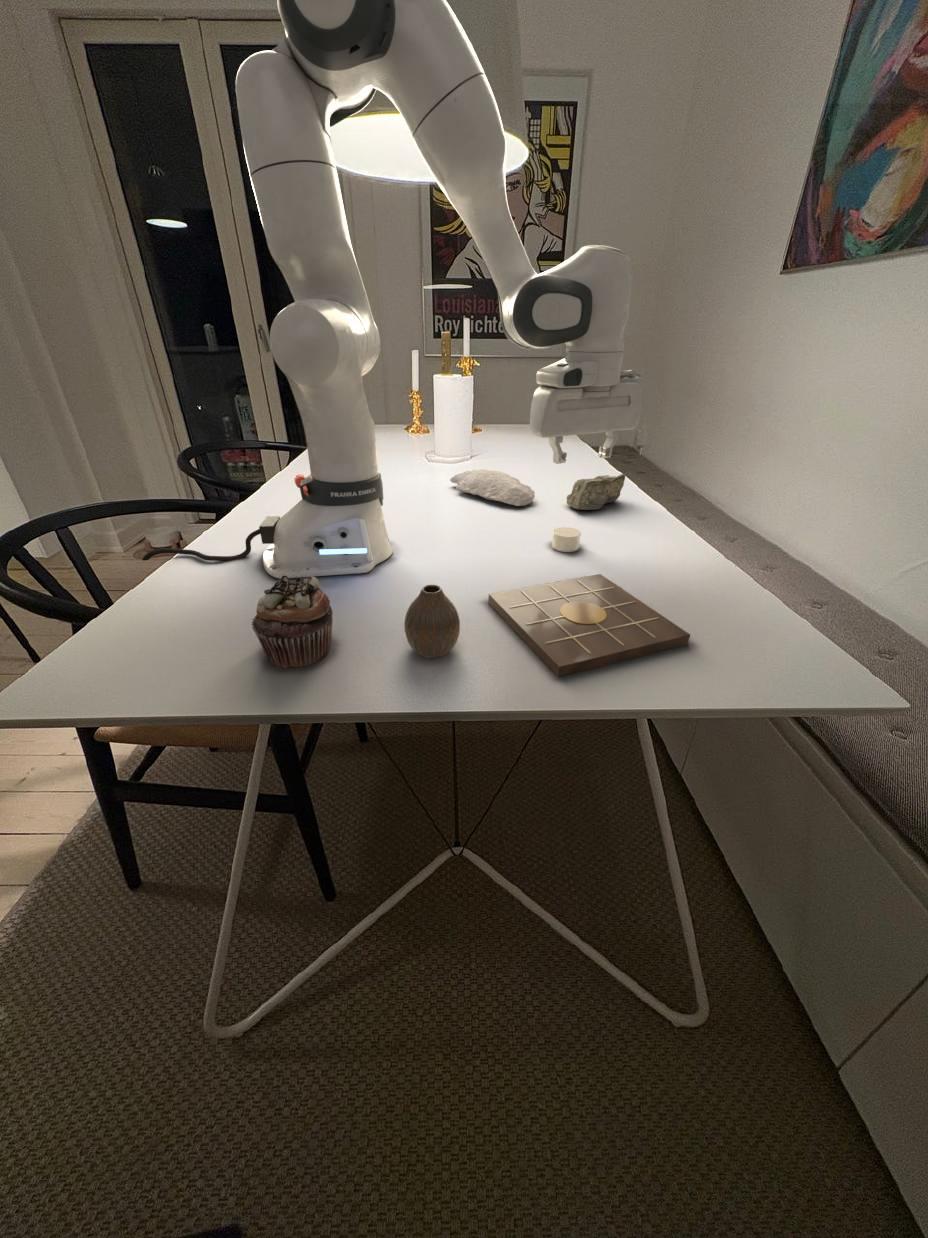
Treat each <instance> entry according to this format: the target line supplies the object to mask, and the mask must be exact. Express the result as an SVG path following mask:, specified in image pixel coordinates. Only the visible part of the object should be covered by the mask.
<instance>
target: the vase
mask: <svg viewBox="0 0 928 1238" xmlns="http://www.w3.org/2000/svg"><path fill="white" fill-rule="evenodd" d="M460 621H461V619H460V617H459V612H458V609H457V608H456V606H455V604H454V603H453V602H452V600H450V599H449V597H448V596H447V595H446V594H445V592H444V591H443V588H442V587H441V586H440V585H437V584H427V585H424V586H423V587H421V589H420V592H419V594H418V595H417V596H416V598H415V599H413V601H412V602H411V603H410V605H409V606H408V608H407V611H406V614H405V617H404V633H405V637H406V641H407V643H408V645H409V646H410V648H411V649H412V650H413V651H414V652H415V653H417V654H418V655H419V656H422V657H424V658H428V659H436V658H437V659H438V658H441V657H443V656H445V655H447V654H449V652H451V651H452V649H453V648H454V647H455V645H456V644H457V643H458V639H459V636H460V631H461V630H460V628H461V622H460Z"/></svg>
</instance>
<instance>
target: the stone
mask: <svg viewBox="0 0 928 1238" xmlns="http://www.w3.org/2000/svg"><path fill="white" fill-rule="evenodd" d="M449 481H450V482H451V483H453V484H457V485H456V486H455V490H457V491H460V492H463V493H467V494H471V495H473V496H479V497H482V498H483V499H485V500H489V501H496V502H500V503H504V504H508V505H510V506H511V505H512V506H516V507H524V506H528V505H529V504H531V503H532V502H533V500H534V499H535V496H536V495H535V494H536V493H535V490H533V489H532V487H531V486H529V485H526V484H524V483H522V482H521V481H520V480H519V479H518V478H517V477H514V476H511V475H509V474H507V473H505V472H503V471H500V470H492V469H491V470H489V469H474V470H473V469H472V470H467V471H463V472H462V473H458V474H455V475H453V476H452V477H451V478H450V479H449Z"/></svg>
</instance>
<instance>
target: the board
mask: <svg viewBox="0 0 928 1238" xmlns="http://www.w3.org/2000/svg"><path fill="white" fill-rule="evenodd" d="M487 600H488V602H487V603H488V604H489V605H490V606H491V607H492V609H494V611H496V613H497V614H498V615H499V616H500V617H501V618H502V619H503V620H504V621H505V622H506V623H507V624H508V626H510V628H512V630H514V632H515V633H516V634H517V635H518V636H519V637H520V638H521V639H522V640H523V641H524V642H525V644H527V645H528V646H529V648H530V649H531V650H532V651H533V652H534V653H535V654H536V655H537V656H538V657H539V659H541V660H542V661H543V663H545V665H546V666H547V667H548V668H549V669H550V670H551V671H552V672H553V673H554V674H555V675H556V676H557V678H558V677H564V676H567V675H571V674H575V673H579V672H583V671H587V670H591V669H595V668H599V667H602V666H603V667H604V666H607V665H610V664H614V663H618V662H623V661H626V660H627V661H628V660H630V659H634V658H638V657H642V656H646V655H650V654H654V653H658V652H662V651H665V650H670V649H674V648H677V647H682V646H686V645H688V644H689V642H690V638H691V634H690V633H689V632H688V631H686V630H685V629H683V628H681V627H680V626H679V625H677V624H675V623H674V622H673V621H671V620H669V619H668V618H666V617H665V616H663V614H660V613H659V612H658V611H656V610H655V609H653V608H652V607H650V606H648V605H647V604H646V603H644V602H643V601H641V600H639V599H638V598H637V597H635V596H634V595H632V594H631V593H629V592H628V591H626V590H625V589H623V588H621V587H620V586H619V585H617V584H616V583H614V582H613V581H612V580H610V579H609V578H607V577H605V576H604V575H603V574H601V573H598V574H592V575H587V576H580V577H575V578H570V579H565V580H559V581H554V582H548V583H542V584H536V585H531V586H525V587H520V588H515V589H509V590H503V591H498V592H493V593H488V599H487Z"/></svg>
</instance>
